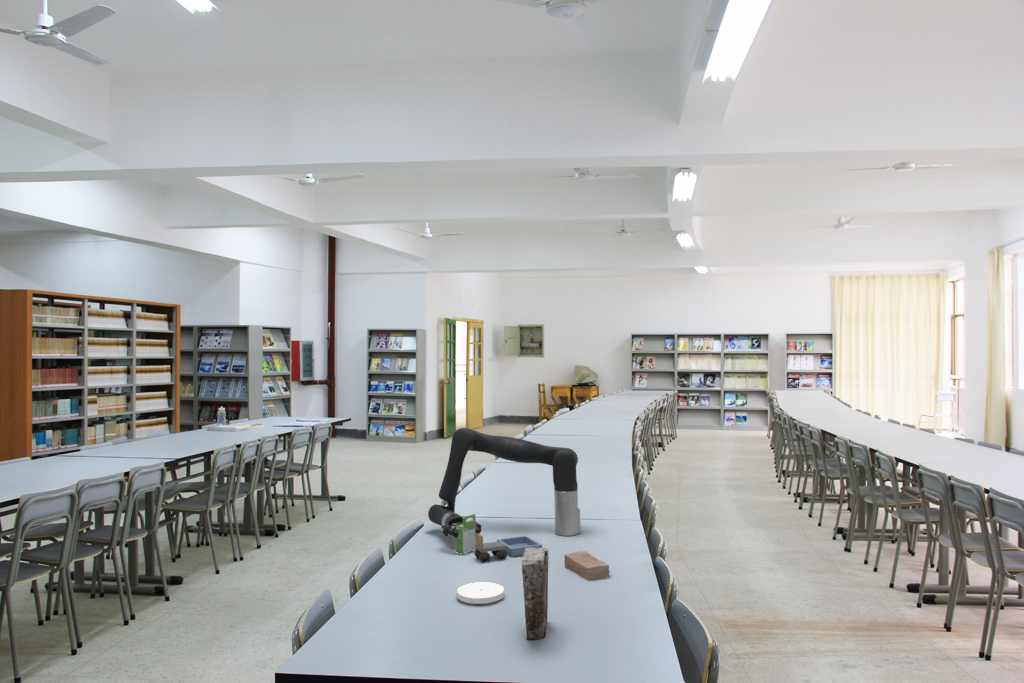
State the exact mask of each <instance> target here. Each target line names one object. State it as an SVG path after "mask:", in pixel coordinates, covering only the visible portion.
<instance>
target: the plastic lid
mask: <svg viewBox="0 0 1024 683" xmlns="http://www.w3.org/2000/svg"><path fill="white" fill-rule="evenodd" d="M505 595H506V594H505V587H504V586H503V585H501V584H499V583H495V582H487V581H479V582H478V581H477V582H470V583H466V584H463V585H461V586H459V587H458V588H457V589H456V597H457V599H458V600H459V601H461V602H463V603H467V604H472V605H473V604H479V605H480V604H490V603H495V602H497V601H499V600H500V601H501V600H502V599H503V598H504V597H505Z"/></svg>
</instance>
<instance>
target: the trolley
mask: <svg viewBox="0 0 1024 683" xmlns="http://www.w3.org/2000/svg"><path fill="white" fill-rule="evenodd" d="M504 549H506V546H505V545H504V544H502V543H501V542H499V541H498V542H497V541H493V542H485V543H484V536H482V535H481V533H480V534H478V533H476V550H475V551H473V552H474V553H473V554H474V556H475V558H477V559H478V558H479V559H478V560H479V561H480V562H482V563H484V562H485V563H487V562H489V560H490V559H491V555H490V553H489V552H491V554H492V555H493V556H495V557H496V558H497V559H498V560H500V561H503V559H504V560H505V559H506V558H507V557H508V555H507V552H506V551H505V550H504Z"/></svg>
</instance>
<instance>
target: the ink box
mask: <svg viewBox="0 0 1024 683" xmlns="http://www.w3.org/2000/svg"><path fill="white" fill-rule="evenodd" d="M462 517H463V524H461V525H457V526H456V531H457V538H455V553H456V552H458V553H462V554H461V555H463V554H464V555H466V554H469V553H471V552H470V551H472V552H474V551H473V550H476V523H475V522H476V513H473V514H470V515H467V516H462ZM468 519H472V520H469V521H467V520H468ZM468 552H469V553H468ZM458 553H457V554H458ZM465 553H466V554H465Z"/></svg>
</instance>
